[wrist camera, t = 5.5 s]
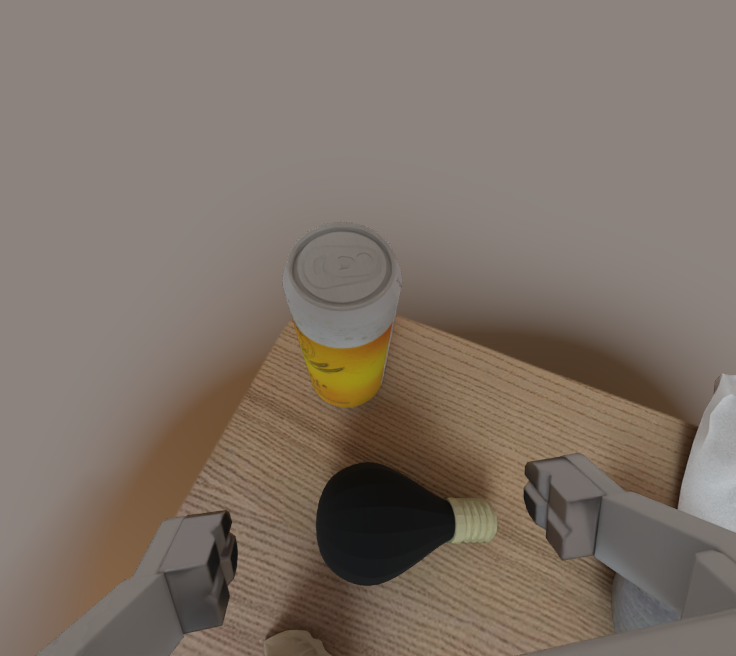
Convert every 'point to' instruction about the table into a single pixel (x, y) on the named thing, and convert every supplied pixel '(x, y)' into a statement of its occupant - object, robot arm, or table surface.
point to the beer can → (343, 308)
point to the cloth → (714, 461)
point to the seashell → (636, 607)
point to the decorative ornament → (294, 644)
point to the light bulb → (391, 523)
